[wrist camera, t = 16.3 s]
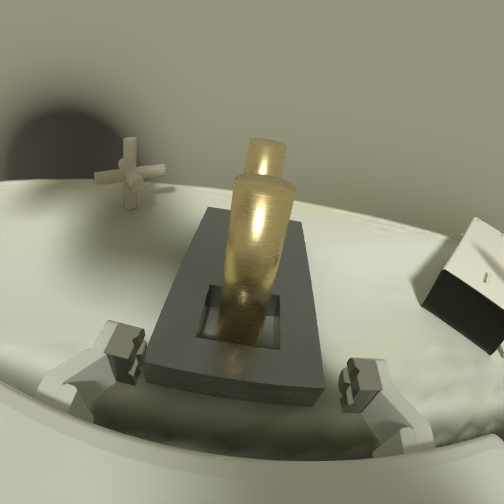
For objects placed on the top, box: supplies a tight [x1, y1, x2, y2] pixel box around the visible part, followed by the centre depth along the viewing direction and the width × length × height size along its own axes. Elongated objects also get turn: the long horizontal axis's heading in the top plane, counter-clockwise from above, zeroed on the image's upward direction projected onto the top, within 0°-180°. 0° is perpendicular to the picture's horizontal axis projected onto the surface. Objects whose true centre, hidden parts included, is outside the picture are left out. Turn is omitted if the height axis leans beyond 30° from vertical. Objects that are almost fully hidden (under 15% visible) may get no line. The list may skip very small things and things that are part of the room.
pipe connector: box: [94, 137, 166, 210], centre depth 38 cm, size 10×10×10 cm
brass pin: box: [216, 173, 296, 347], centre depth 21 cm, size 4×4×13 cm
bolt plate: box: [143, 138, 325, 406], centre depth 26 cm, size 24×12×13 cm, turn 176°
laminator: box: [422, 217, 504, 355], centre depth 37 cm, size 34×12×6 cm, turn 132°
